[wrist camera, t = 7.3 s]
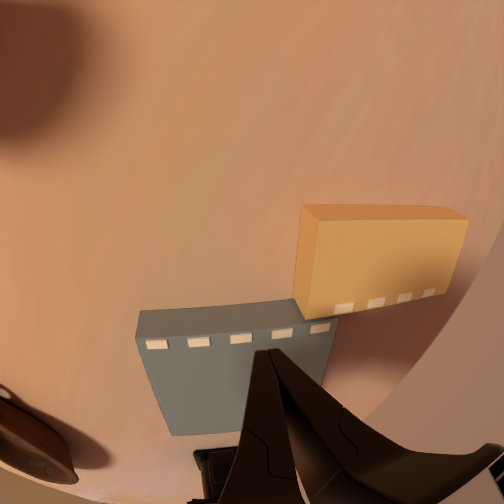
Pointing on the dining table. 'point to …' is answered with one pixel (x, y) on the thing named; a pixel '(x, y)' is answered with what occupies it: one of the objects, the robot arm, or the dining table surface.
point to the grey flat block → (223, 357)
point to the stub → (373, 256)
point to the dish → (34, 447)
